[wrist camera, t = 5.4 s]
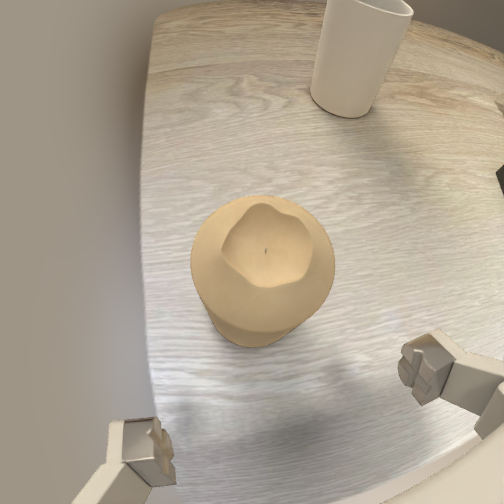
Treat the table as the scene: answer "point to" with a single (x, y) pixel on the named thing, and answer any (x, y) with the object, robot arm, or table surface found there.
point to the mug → (356, 53)
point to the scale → (501, 177)
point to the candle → (261, 268)
